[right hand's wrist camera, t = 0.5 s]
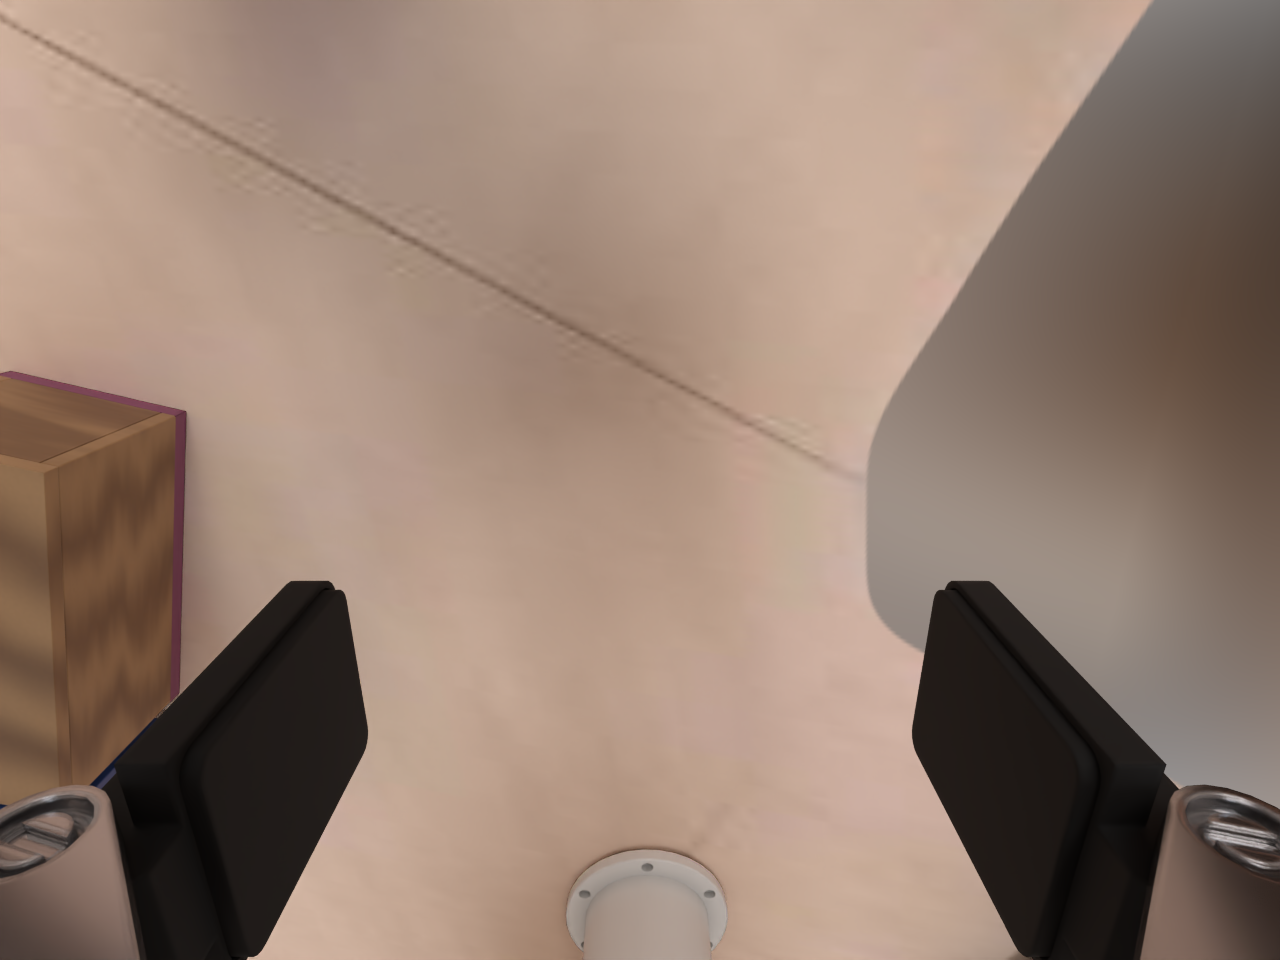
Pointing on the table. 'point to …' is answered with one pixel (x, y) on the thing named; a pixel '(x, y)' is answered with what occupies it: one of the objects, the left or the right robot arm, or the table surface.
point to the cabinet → (85, 577)
